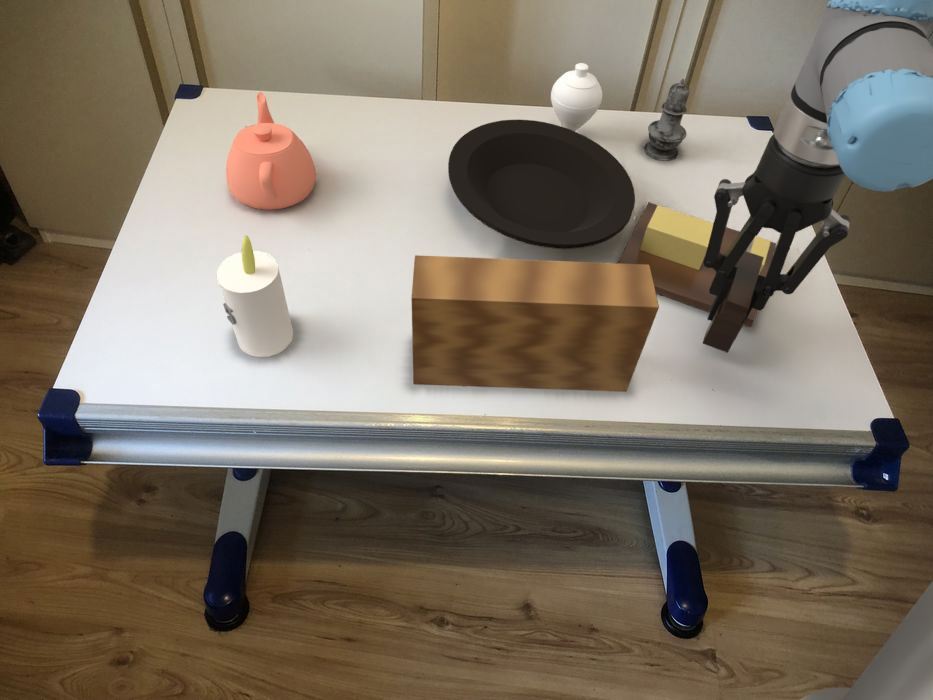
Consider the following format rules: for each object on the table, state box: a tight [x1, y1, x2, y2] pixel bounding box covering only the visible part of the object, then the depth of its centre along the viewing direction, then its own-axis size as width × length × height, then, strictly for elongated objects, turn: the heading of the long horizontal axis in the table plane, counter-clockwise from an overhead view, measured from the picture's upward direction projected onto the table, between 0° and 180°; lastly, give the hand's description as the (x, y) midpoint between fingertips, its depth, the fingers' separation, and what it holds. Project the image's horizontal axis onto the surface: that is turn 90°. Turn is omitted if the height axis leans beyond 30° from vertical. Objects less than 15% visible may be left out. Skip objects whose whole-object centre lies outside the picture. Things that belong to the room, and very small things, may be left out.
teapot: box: [225, 92, 317, 211], centre depth 94 cm, size 12×18×10 cm
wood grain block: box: [410, 254, 660, 393], centre depth 73 cm, size 24×6×14 cm, turn 90°
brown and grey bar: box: [702, 239, 764, 354], centre depth 83 cm, size 22×3×8 cm, turn 155°
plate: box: [447, 119, 636, 250], centre depth 95 cm, size 28×24×6 cm
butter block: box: [640, 204, 714, 270], centre depth 90 cm, size 5×8×4 cm, turn 64°
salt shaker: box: [643, 78, 691, 162], centre depth 103 cm, size 6×6×12 cm
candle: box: [216, 234, 294, 358], centre depth 74 cm, size 6×6×15 cm
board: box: [617, 202, 777, 328], centre depth 91 cm, size 16×18×1 cm
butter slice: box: [750, 235, 772, 274], centre depth 87 cm, size 5×2×4 cm, turn 155°
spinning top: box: [550, 62, 603, 132], centre depth 104 cm, size 8×8×12 cm
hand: (725, 317), depth 81 cm, fingers closed on brown and grey bar, 2 cm apart
